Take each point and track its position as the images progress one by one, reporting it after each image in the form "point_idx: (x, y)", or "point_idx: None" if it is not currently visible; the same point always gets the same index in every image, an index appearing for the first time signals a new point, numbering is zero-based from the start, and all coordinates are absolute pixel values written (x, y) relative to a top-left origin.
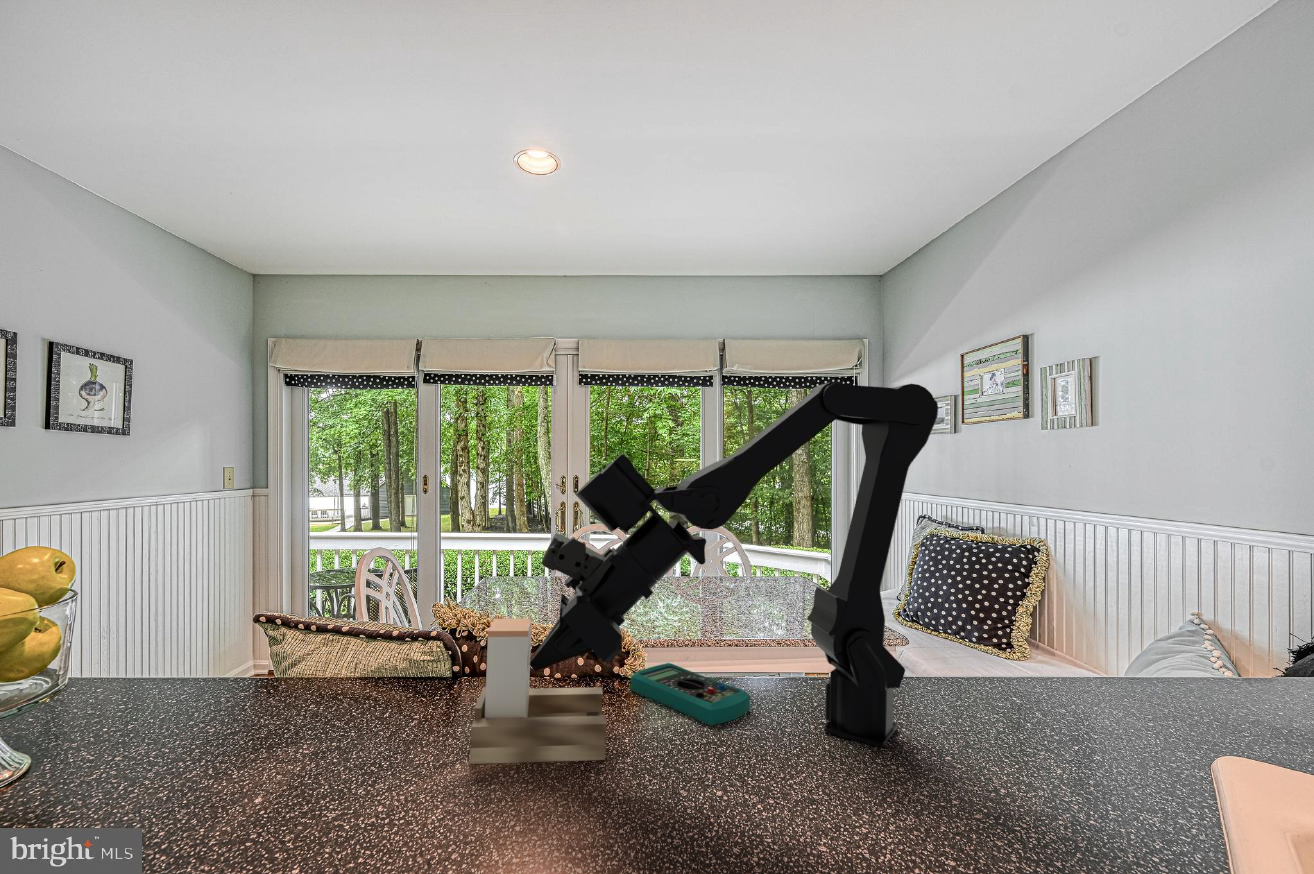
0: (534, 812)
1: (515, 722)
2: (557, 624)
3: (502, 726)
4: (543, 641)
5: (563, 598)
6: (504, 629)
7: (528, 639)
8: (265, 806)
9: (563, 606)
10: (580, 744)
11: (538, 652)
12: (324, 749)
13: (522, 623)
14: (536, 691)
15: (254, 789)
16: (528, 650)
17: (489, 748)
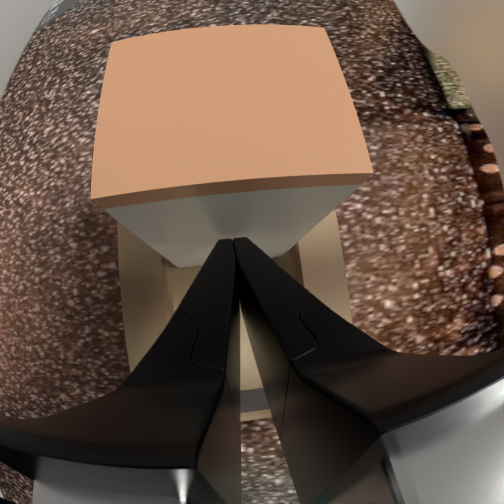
0: (20, 314)
1: (136, 248)
2: (284, 354)
3: (117, 225)
4: (277, 274)
5: (439, 418)
6: (125, 83)
7: (145, 211)
8: (81, 41)
9: (81, 471)
10: None
11: (202, 267)
12: (196, 23)
13: (254, 135)
14: (324, 263)
15: (114, 19)
16: (185, 223)
17: None
